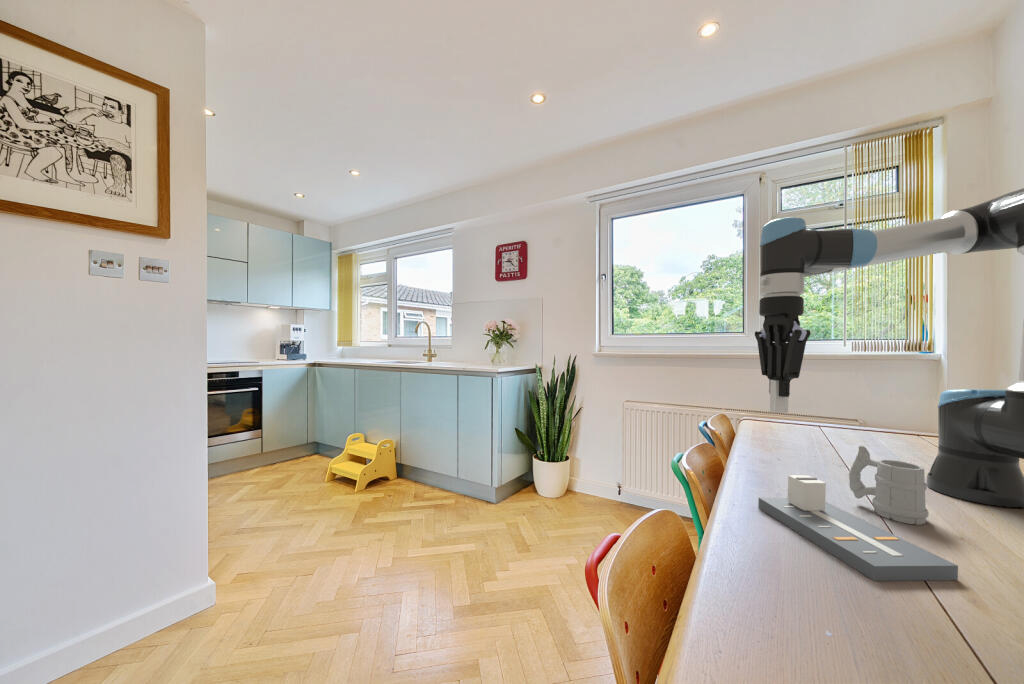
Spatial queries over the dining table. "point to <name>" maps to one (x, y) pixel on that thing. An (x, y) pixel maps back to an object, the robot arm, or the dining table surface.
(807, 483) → the fader tab
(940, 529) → the dining table surface
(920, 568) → the console
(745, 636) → the dining table surface
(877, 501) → the mug
